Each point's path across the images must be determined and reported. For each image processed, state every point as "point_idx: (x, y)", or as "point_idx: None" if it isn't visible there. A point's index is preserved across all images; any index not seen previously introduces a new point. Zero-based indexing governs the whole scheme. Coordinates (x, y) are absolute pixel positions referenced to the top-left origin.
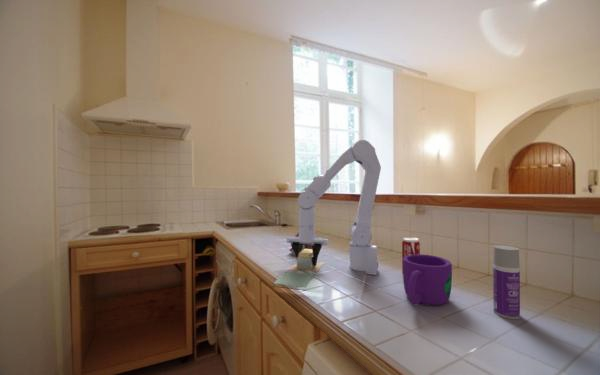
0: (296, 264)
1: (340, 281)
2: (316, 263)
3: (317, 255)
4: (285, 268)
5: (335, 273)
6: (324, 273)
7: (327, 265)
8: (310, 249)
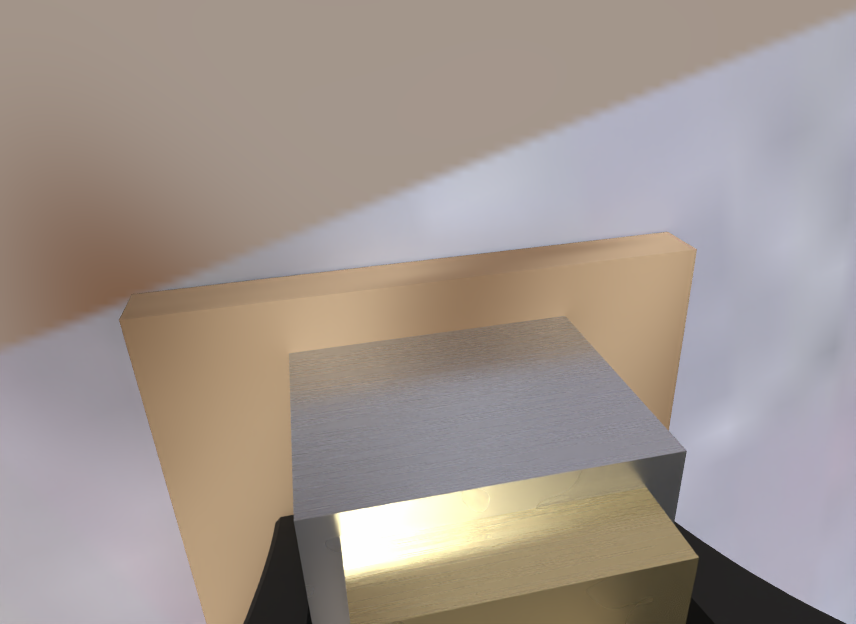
0: (220, 515)
1: (852, 608)
2: None
3: (708, 573)
4: (80, 591)
5: (824, 453)
6: (694, 509)
7: (719, 176)
8: (567, 619)
